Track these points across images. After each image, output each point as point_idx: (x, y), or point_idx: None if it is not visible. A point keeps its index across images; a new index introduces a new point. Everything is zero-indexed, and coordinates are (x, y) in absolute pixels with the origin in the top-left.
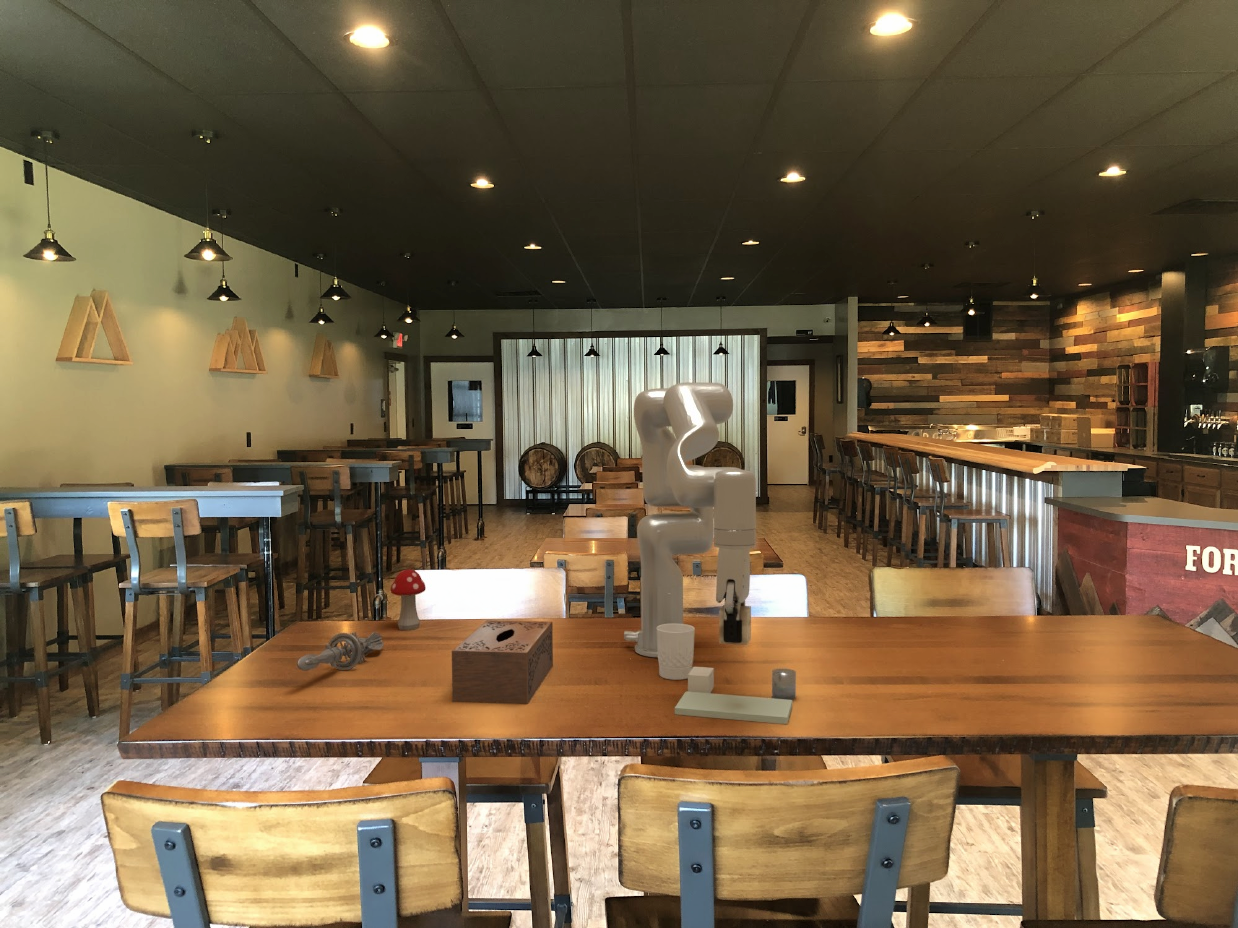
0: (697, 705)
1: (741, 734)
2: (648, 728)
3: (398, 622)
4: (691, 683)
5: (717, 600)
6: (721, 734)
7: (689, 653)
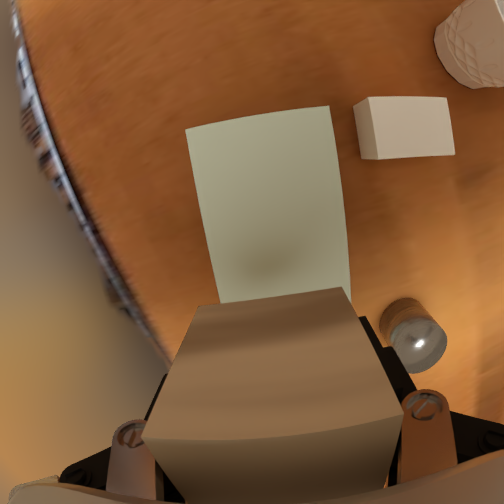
0: (226, 174)
1: (145, 303)
2: (91, 126)
3: None
4: (363, 111)
5: (22, 489)
6: (126, 269)
7: (494, 76)
